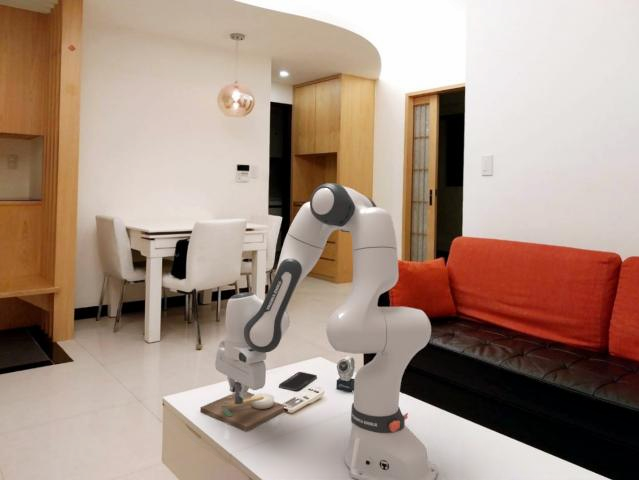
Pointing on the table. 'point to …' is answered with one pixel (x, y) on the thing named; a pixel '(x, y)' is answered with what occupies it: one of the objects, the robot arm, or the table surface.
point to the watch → (346, 374)
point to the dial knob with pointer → (253, 399)
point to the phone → (298, 381)
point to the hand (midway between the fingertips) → (238, 394)
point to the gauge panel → (240, 412)
